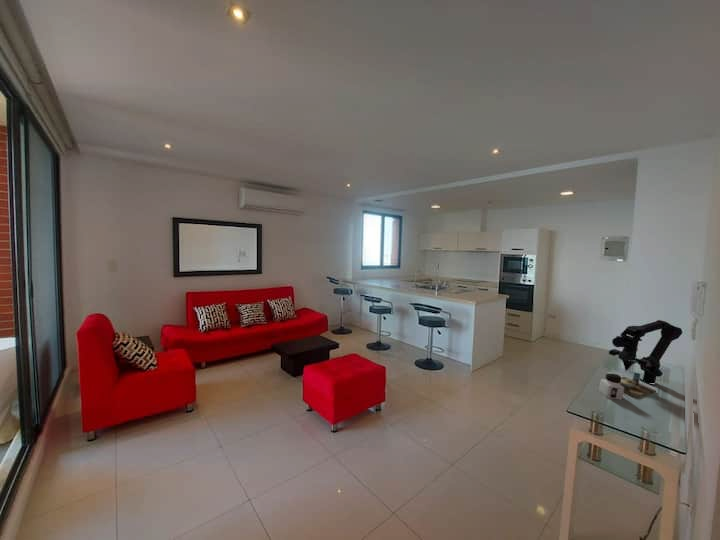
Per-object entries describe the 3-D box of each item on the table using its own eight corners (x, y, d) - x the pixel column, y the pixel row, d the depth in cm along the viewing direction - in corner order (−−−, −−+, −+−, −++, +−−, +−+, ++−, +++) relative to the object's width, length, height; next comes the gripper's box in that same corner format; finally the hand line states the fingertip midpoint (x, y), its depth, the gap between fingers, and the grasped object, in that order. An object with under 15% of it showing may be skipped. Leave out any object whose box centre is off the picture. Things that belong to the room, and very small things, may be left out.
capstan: (633, 391, 171) (635, 381, 170) (611, 382, 181) (613, 372, 180) (647, 387, 176) (649, 377, 175) (626, 378, 186) (628, 369, 185)
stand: (624, 378, 189) (625, 370, 188) (655, 392, 174) (657, 383, 173) (604, 383, 182) (605, 374, 181) (635, 398, 167) (637, 388, 166)
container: (622, 400, 165) (626, 379, 163) (606, 398, 166) (610, 377, 164) (613, 392, 172) (617, 372, 170) (598, 390, 174) (602, 370, 172)
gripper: (606, 343, 185) (602, 365, 188) (644, 355, 169) (639, 380, 171) (615, 340, 190) (611, 362, 193) (653, 352, 173) (648, 376, 176)
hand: (626, 370), depth 183 cm, fingers closed
